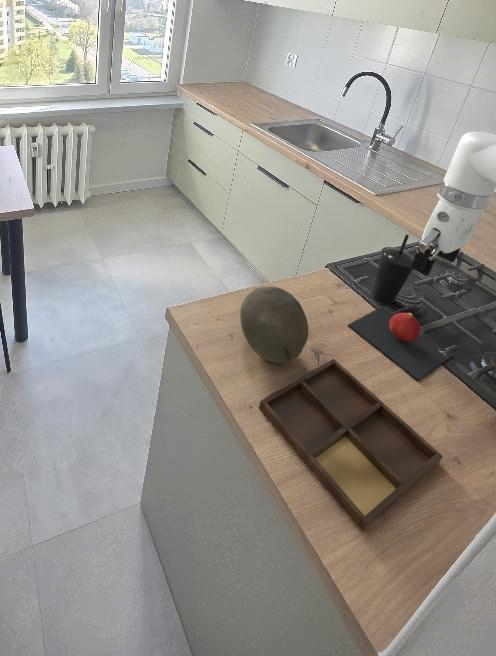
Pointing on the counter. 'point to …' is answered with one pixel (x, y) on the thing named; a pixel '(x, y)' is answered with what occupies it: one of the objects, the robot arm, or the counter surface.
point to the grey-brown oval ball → (274, 324)
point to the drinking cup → (392, 273)
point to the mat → (400, 344)
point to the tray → (350, 440)
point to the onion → (404, 327)
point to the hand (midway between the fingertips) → (432, 264)
